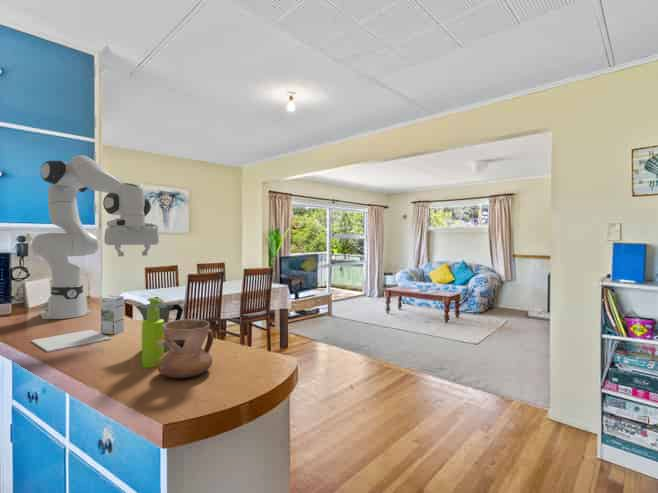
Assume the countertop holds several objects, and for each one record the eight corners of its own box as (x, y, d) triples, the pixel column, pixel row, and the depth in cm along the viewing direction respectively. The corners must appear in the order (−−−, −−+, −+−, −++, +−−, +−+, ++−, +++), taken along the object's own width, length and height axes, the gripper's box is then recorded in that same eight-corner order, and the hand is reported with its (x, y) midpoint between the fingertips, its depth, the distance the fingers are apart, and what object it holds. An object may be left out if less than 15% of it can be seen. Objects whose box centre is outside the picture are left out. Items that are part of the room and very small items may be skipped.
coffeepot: (128, 354, 113) (129, 299, 113) (143, 345, 123) (143, 294, 122) (176, 354, 114) (177, 299, 114) (187, 345, 123) (188, 295, 123)
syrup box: (124, 331, 140) (124, 295, 140) (113, 335, 135) (114, 297, 134) (111, 330, 141) (111, 294, 141) (100, 334, 135) (100, 297, 135)
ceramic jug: (172, 390, 88) (174, 334, 88) (141, 376, 96) (143, 324, 96) (228, 369, 103) (230, 321, 103) (197, 359, 111) (199, 314, 111)
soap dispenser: (151, 370, 101) (151, 301, 100) (137, 365, 104) (138, 298, 104) (169, 364, 106) (170, 298, 105) (156, 359, 109) (156, 295, 109)
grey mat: (31, 341, 125) (31, 340, 125) (91, 330, 140) (91, 329, 140) (47, 352, 114) (47, 350, 114) (111, 339, 129) (111, 337, 129)
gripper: (154, 223, 154) (154, 255, 154) (102, 221, 138) (102, 256, 138) (161, 223, 151) (161, 255, 151) (109, 221, 134) (109, 257, 134)
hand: (133, 256), depth 144 cm, fingers open, 8 cm apart
